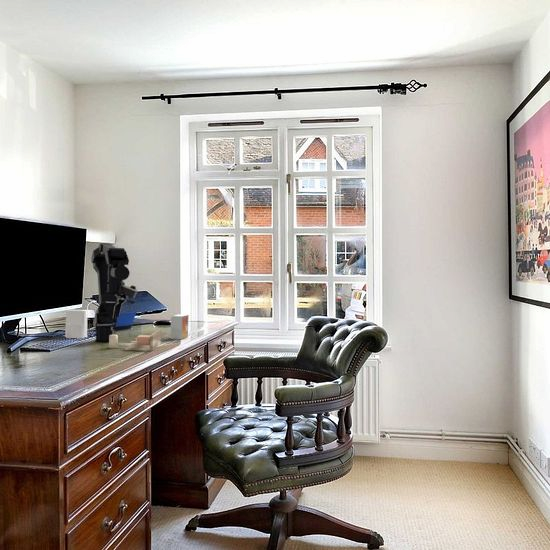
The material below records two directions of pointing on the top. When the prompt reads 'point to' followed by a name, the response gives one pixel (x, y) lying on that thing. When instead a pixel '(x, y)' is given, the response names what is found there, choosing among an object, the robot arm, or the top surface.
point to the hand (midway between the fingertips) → (114, 318)
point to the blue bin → (124, 320)
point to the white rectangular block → (76, 324)
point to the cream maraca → (140, 341)
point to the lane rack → (154, 342)
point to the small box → (179, 326)
